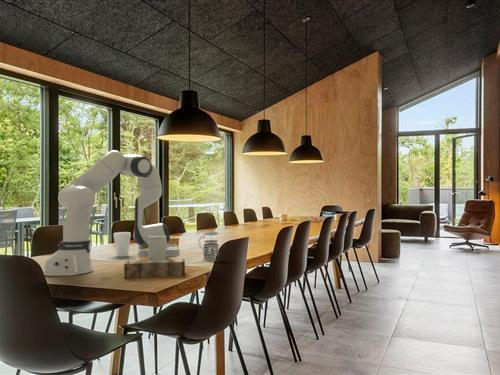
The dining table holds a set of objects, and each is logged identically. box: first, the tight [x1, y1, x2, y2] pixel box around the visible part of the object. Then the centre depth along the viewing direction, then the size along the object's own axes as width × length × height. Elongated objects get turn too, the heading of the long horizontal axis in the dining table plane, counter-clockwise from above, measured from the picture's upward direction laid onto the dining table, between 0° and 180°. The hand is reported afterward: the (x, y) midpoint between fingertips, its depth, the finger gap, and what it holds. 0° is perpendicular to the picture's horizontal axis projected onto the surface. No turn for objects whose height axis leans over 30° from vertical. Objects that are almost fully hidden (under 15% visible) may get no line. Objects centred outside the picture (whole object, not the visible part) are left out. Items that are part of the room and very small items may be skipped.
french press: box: [198, 212, 220, 262], centre depth 227 cm, size 10×12×25 cm
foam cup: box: [113, 231, 132, 258], centre depth 242 cm, size 10×9×13 cm
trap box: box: [123, 258, 186, 279], centre depth 184 cm, size 25×9×7 cm, turn 99°
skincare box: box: [147, 236, 167, 261], centre depth 198 cm, size 8×7×16 cm
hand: (158, 254), depth 206 cm, fingers closed
